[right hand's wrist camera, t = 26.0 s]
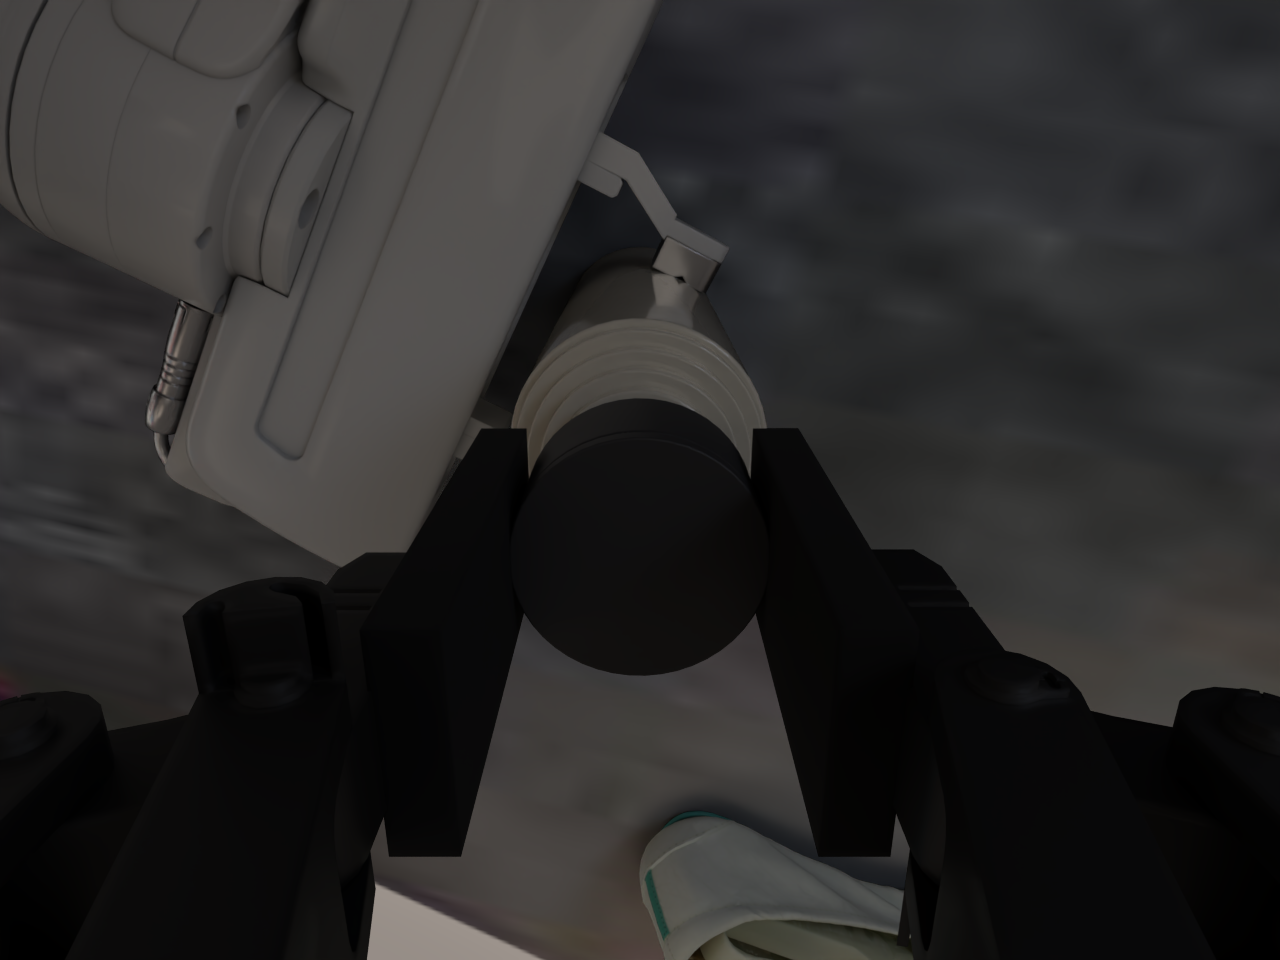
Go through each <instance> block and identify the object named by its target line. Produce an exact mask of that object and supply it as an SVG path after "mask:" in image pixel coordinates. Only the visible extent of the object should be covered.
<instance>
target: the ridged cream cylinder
mask: <svg viewBox="0 0 1280 960" xmlns="http://www.w3.org/2000/svg"><path fill="white" fill-rule="evenodd" d="M656 250H657V249H654V248H647V247H631V248H624V249H621V250H617V251H614V252H612V253H610V254H607V255H606V256H604V257H602V258H600V259H599V260H598V261H596V262H595V263H594V264H593V265H592V266H591V267H590V268H589V269H588V270H587V271H586V272H585V273H584V274H583V276H582V277H581V278H580V280H579V282H578V284H577V285H576V287H575V289H574V291H573V293H572V295H571V297H570V299H569V301H568V303H567V304H566V306H565V308H564V310H563V312H562V314H561V316H560V318H559V320H558V322H557V324H556V325H555V327H554V329H553V331H552V333H551V335H550V337H549V339H548V341H547V343H546V345H545V346H544V348H543V350H542V352H541V354H540V356H539V358H538V360H537V362H536V364H535V366H534V367H533V369H532V371H531V373H530V375H529V377H528V379H527V381H526V383H525V385H524V387H523V388H522V390H521V393H520V395H519V398H518V401H517V403H516V406H515V410H514V414H513V418H512V424H511V428H527V447H528V468H529V477H530V475H531V472H532V469H533V467H534V465H535V462H536V460H537V458H538V456H539V454H540V453H541V451H542V449H543V448H544V446H545V445H546V444H547V442H548V441H549V440H550V439H551V437H552V436H553V435H554V434H555V433H556V432H557V431H558V430H559V429H560V428H561V427H562V426H564V425H565V424H566V423H567V422H569V421H570V420H572V419H573V418H574V417H576V416H577V415H579V414H581V413H583V412H585V411H587V410H589V409H591V408H593V407H596V406H599V405H601V404H604V403H608V402H612V401H616V400H622V399H632V398H649V399H657V400H663V401H668V402H672V403H675V404H679V405H682V406H684V407H686V408H689V409H691V410H693V411H695V412H697V413H699V414H700V415H702V416H704V417H705V418H707V419H708V420H710V421H711V422H712V423H714V424H715V425H716V426H717V427H719V428H720V429H721V430H722V431H723V432H724V433H725V435H726V436H727V437H728V438H729V439H730V440H731V441H732V443H733V444H734V446H735V447H736V448H737V450H738V451H739V453H740V455H741V457H742V459H743V461H744V462H745V465H746V468H747V470H748V473H749V476H750V477H751V457H752V436H753V428H767V423H766V418H765V414H764V409H763V406H762V403H761V401H760V398H759V395H758V393H757V391H756V389H755V387H754V385H753V383H752V381H751V379H750V377H749V375H748V373H747V371H746V370H745V368H744V366H743V364H742V362H741V360H740V358H739V356H738V354H737V352H736V350H735V349H734V347H733V345H732V343H731V341H730V339H729V337H728V335H727V333H726V331H725V329H724V328H723V326H722V324H721V322H720V320H719V318H718V316H717V314H716V312H715V310H714V308H713V306H712V305H711V303H710V301H709V299H708V297H707V295H706V293H703V292H700V291H698V290H696V289H694V288H693V287H691V286H690V285H688V284H686V283H685V281H684V279H683V277H682V276H680V277H673V276H670V275H667V274H665V273H663V272H661V271H659V270H657V269H655V268H654V267H652V259H653V257H654V255H655V252H656Z"/></svg>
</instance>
